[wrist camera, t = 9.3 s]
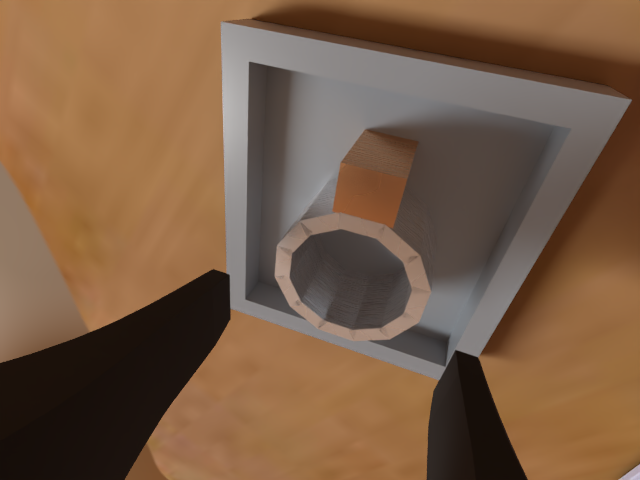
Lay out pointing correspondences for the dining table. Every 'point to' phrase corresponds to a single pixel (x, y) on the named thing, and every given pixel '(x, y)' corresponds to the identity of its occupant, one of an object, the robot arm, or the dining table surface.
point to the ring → (370, 220)
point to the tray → (424, 177)
